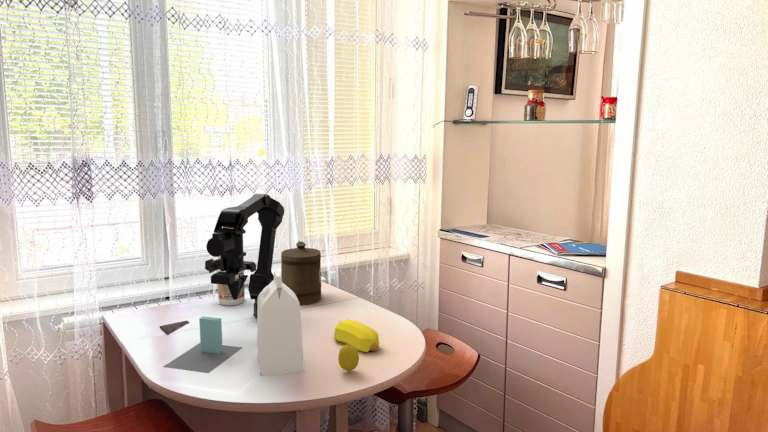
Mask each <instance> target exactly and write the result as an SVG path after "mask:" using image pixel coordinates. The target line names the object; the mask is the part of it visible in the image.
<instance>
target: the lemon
mask: <svg viewBox="0 0 768 432" xmlns="http://www.w3.org/2000/svg"><path fill="white" fill-rule="evenodd" d="M337 357H338V359H337V360H338V365H339V366H340V368H341V369H342V370H344V371H346V372H347V373H350V372H351V371H354V370H355V369H356V368H357V366H358V365H359V361H360V359H359V358H360V355H359V350H357V349H356V348H355V347H354V346H353V345H350V344H344V345H343V346H341V348H340V350H339V352H338V356H337Z"/></svg>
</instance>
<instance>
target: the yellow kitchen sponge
mask: <svg viewBox="0 0 768 432" xmlns="http://www.w3.org/2000/svg"><path fill="white" fill-rule="evenodd" d="M379 338H380V337H379V332H377V331H376V330H375V329H374V328H371V327H369V326H368V325H366V324H364V323H362V322H358V321H356V320H352V319H348V318H347V319H346V320H344V321H339V322H337V324H336V325H335V328H334V335H333V339H335V341H337V342H339V343H341V342H342V344H343V345H347V344H350V345H353V346H354V347H355V348H356V349H358V350H357V351H358V352H359V351H360V352H361V353H363V352H366V353H368V352H369V351H371V352H375V351H376V352H377V350H378V349H379V348H380V339H379Z"/></svg>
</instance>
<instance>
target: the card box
mask: <svg viewBox="0 0 768 432" xmlns="http://www.w3.org/2000/svg"><path fill="white" fill-rule="evenodd" d="M222 325H223V324H222V318H220V317H211V316H204V315H203V316H201V317H200V318H199V338H200V339H199V340H200V341H199V343H200V342H201V351H202V352H209V353H217V354H220V353H221V352H223V346H222V345H223V330H222V329H223V328H222V327H223V326H222Z"/></svg>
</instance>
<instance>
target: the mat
mask: <svg viewBox="0 0 768 432" xmlns="http://www.w3.org/2000/svg"><path fill="white" fill-rule="evenodd" d="M222 346H223V352H221V353H220V354H217V353H209V352H202V351H201V342H200V341H199V343H197V344H196V345H194V346H193V347H191V348H190V349H189V350H187V351H185V352H183V353H182V354H181V355H179V356H177V357H176V358H174V359H173V360H171V361H170V362H167V364H165V365H164V366H162V367H163V368H169V369H175V370H176V369H177V370H183V371H190V372H196V373H197V372H198V373H205V374H209V373H211V372H212V371H214V370H215V369H216V368H217V367H219V366H220V365H222V364H223V363H225V361H227V360H228V359H230V357H232V356H234V355H235V354H236V353H238V352H239V351H240V350H242V349H243V347H241V346H234V345H225V344H222Z"/></svg>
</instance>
